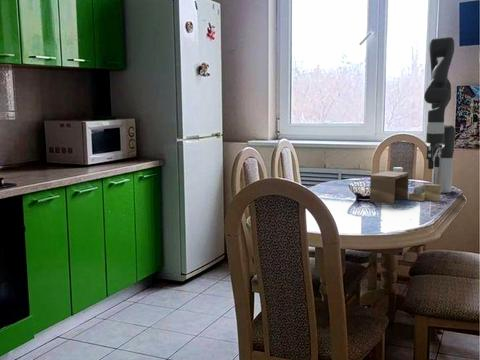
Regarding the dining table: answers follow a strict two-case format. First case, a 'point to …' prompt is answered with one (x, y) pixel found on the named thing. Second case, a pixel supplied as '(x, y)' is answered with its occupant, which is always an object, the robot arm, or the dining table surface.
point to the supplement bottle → (397, 169)
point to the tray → (426, 192)
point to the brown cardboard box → (388, 186)
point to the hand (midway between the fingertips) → (433, 168)
